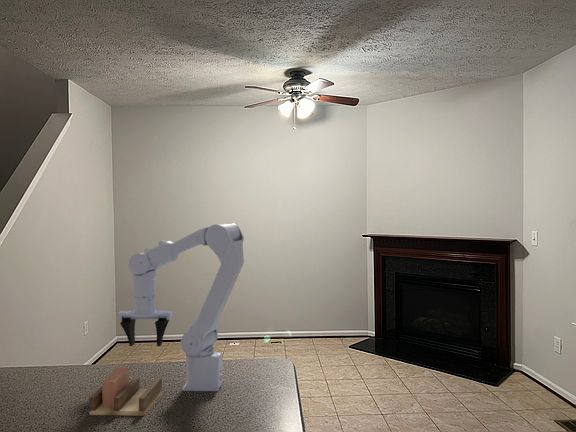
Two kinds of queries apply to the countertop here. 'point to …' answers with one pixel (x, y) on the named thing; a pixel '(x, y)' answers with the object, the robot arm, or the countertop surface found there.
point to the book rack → (128, 399)
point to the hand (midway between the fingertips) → (145, 345)
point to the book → (114, 385)
